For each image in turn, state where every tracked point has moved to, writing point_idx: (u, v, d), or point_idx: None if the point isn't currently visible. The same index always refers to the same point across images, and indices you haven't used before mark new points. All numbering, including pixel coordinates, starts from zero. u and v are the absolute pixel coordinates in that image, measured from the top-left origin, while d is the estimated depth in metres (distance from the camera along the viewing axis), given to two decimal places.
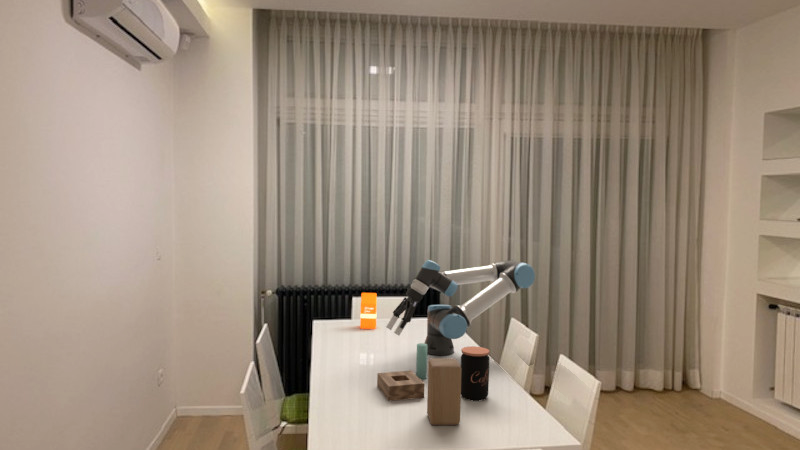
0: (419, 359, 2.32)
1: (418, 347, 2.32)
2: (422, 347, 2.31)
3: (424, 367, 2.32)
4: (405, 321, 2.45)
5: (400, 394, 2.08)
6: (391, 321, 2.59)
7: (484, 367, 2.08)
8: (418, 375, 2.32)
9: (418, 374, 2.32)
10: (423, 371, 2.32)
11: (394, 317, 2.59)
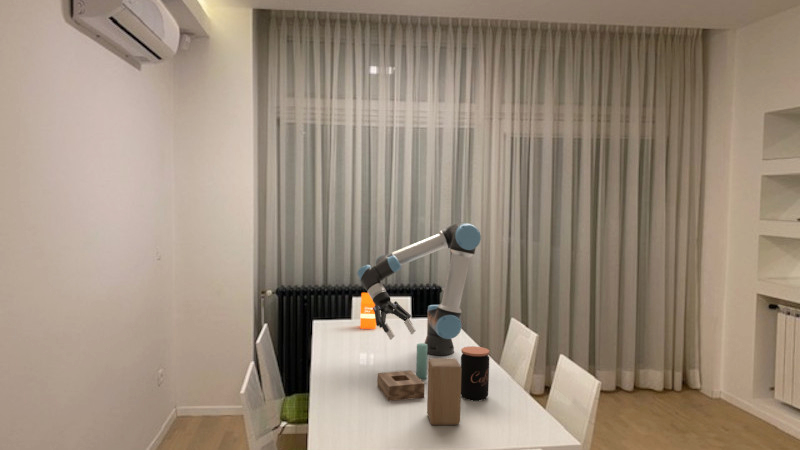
0: (419, 359, 2.32)
1: (418, 347, 2.32)
2: (422, 347, 2.31)
3: (424, 367, 2.32)
4: (381, 325, 2.37)
5: (400, 394, 2.08)
6: (408, 326, 2.47)
7: (484, 367, 2.08)
8: (418, 375, 2.32)
9: (418, 374, 2.32)
10: (423, 371, 2.32)
11: (405, 322, 2.48)
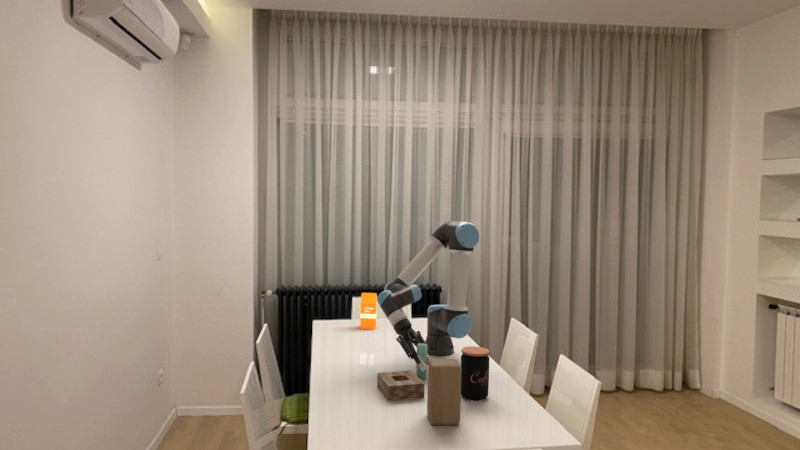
0: None
1: (418, 347, 2.32)
2: (422, 347, 2.31)
3: None
4: (413, 357, 2.31)
5: (400, 394, 2.08)
6: None
7: (484, 367, 2.08)
8: (418, 375, 2.32)
9: (418, 374, 2.32)
10: (423, 371, 2.32)
11: None
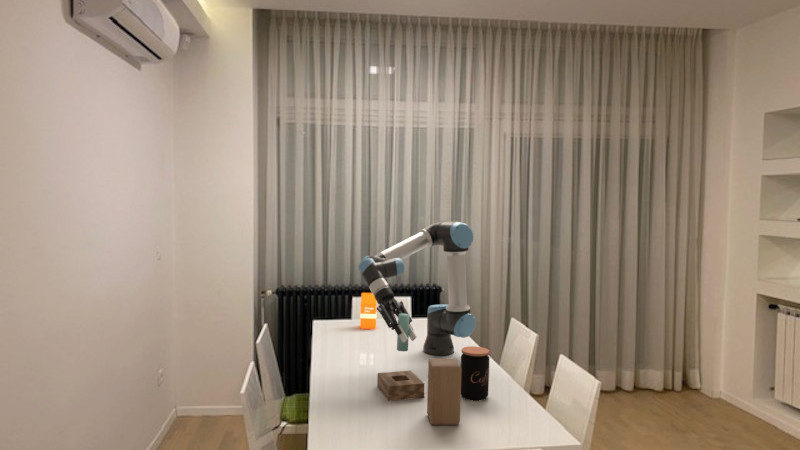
0: None
1: (399, 317, 2.18)
2: (403, 317, 2.17)
3: None
4: (393, 327, 2.17)
5: (400, 394, 2.08)
6: None
7: (484, 367, 2.08)
8: (399, 347, 2.18)
9: (399, 346, 2.18)
10: None
11: None
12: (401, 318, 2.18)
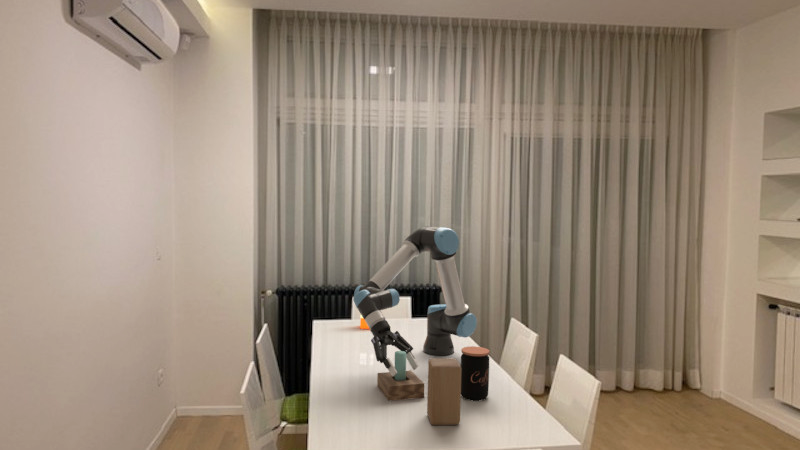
0: (397, 368, 2.14)
1: (396, 355, 2.14)
2: (400, 355, 2.13)
3: (403, 377, 2.14)
4: (382, 360, 2.11)
5: (400, 394, 2.08)
6: (409, 361, 2.20)
7: (484, 367, 2.08)
8: None
9: None
10: None
11: (407, 356, 2.21)
12: (398, 356, 2.13)
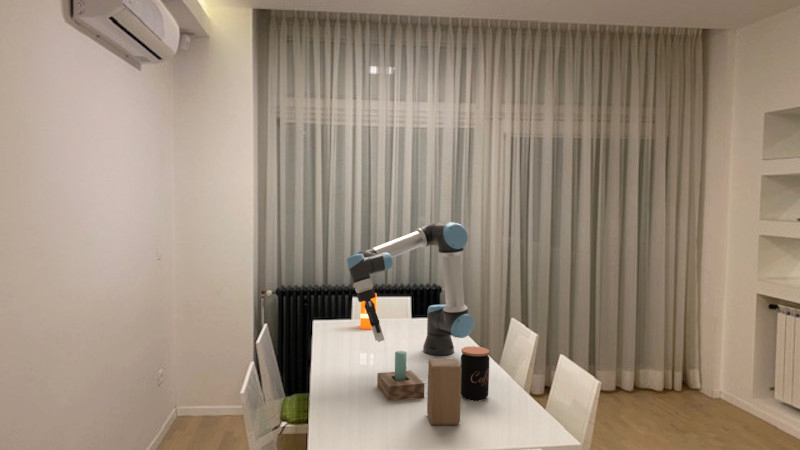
0: (397, 368, 2.14)
1: (396, 355, 2.14)
2: (401, 355, 2.13)
3: (403, 377, 2.14)
4: (376, 324, 2.22)
5: (400, 394, 2.08)
6: (374, 332, 2.36)
7: (484, 367, 2.08)
8: None
9: None
10: None
11: (373, 326, 2.37)
12: (398, 356, 2.14)
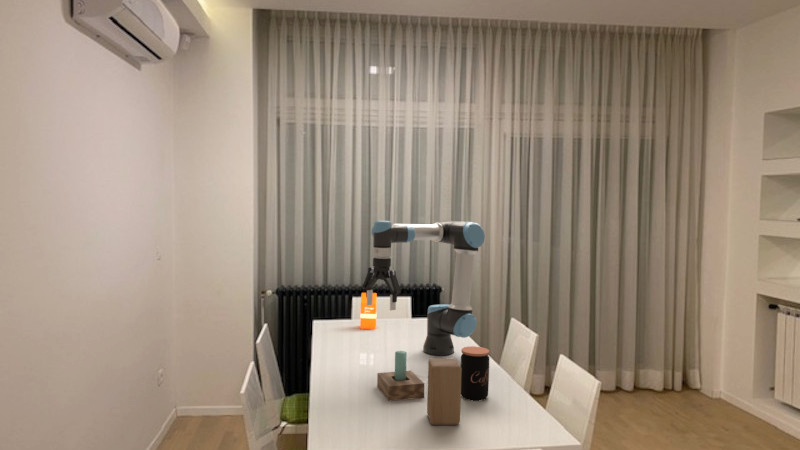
0: (397, 368, 2.14)
1: (396, 355, 2.14)
2: (401, 355, 2.13)
3: (403, 377, 2.14)
4: (396, 294, 2.29)
5: (400, 394, 2.08)
6: (369, 297, 2.39)
7: (484, 367, 2.08)
8: None
9: None
10: None
11: (369, 291, 2.39)
12: (398, 356, 2.14)
